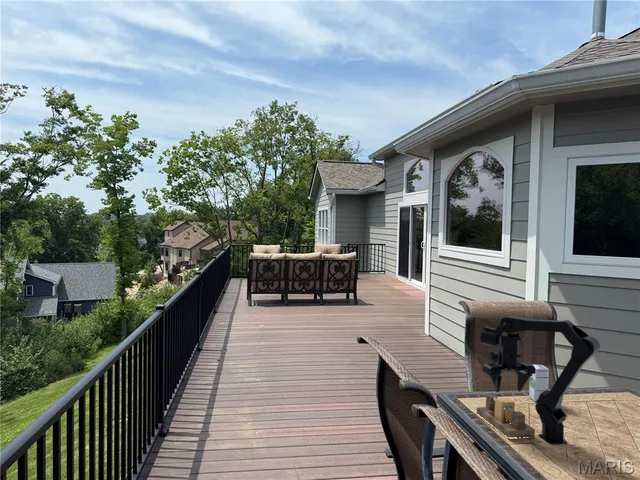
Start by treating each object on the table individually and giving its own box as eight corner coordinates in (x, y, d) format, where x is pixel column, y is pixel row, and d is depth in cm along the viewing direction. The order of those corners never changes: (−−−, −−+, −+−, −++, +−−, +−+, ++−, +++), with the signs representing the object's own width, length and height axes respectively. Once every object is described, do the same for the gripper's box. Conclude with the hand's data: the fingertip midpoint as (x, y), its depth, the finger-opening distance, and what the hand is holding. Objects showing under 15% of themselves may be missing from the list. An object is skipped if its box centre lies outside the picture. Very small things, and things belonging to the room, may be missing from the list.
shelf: (534, 438, 149) (535, 415, 149) (508, 439, 147) (509, 416, 147) (499, 413, 169) (500, 393, 168) (476, 415, 167) (477, 394, 167)
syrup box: (548, 403, 181) (549, 368, 181) (534, 402, 181) (535, 368, 181) (541, 397, 187) (543, 364, 187) (528, 397, 187) (529, 364, 187)
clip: (513, 422, 156) (514, 402, 156) (500, 423, 155) (501, 402, 155) (506, 417, 160) (507, 397, 160) (494, 418, 159) (495, 398, 159)
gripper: (517, 343, 169) (515, 383, 169) (474, 344, 165) (473, 385, 165) (537, 351, 158) (535, 393, 159) (492, 352, 154) (490, 396, 154)
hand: (508, 391), depth 160 cm, fingers open, 9 cm apart
